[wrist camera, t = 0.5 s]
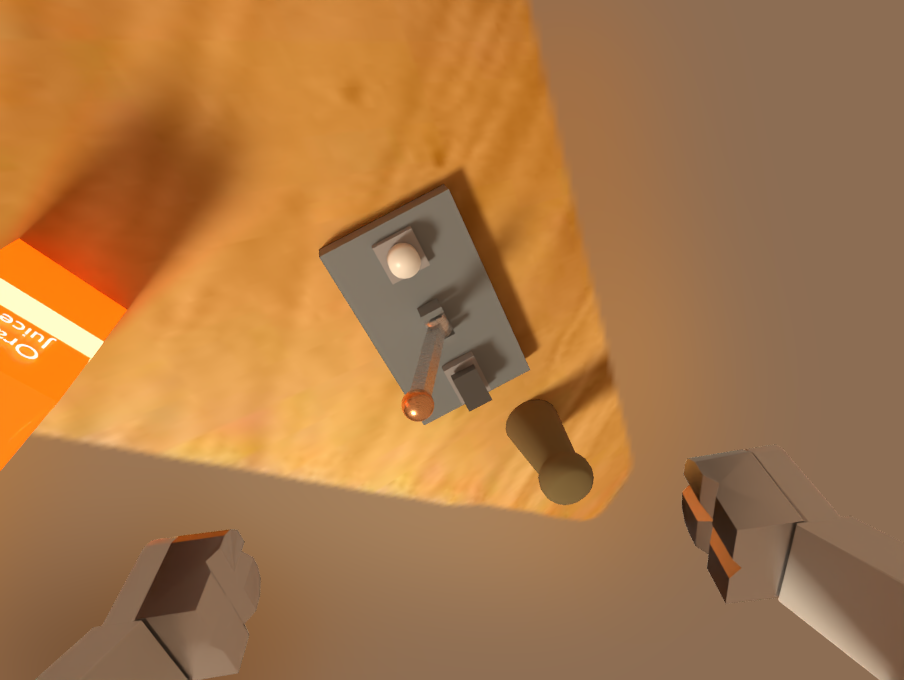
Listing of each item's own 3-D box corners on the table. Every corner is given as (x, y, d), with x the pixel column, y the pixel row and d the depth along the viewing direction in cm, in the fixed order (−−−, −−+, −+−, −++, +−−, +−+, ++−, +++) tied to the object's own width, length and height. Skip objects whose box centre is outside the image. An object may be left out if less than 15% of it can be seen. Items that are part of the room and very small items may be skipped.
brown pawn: (557, 394, 59) (604, 458, 50) (557, 438, 62) (602, 506, 52) (504, 406, 58) (542, 473, 49) (507, 450, 61) (543, 521, 51)
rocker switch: (450, 375, 51) (452, 380, 50) (473, 363, 51) (475, 368, 50) (467, 406, 52) (469, 411, 51) (489, 394, 52) (492, 399, 51)
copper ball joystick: (422, 312, 49) (392, 408, 39) (446, 304, 48) (422, 400, 38) (433, 332, 50) (407, 431, 40) (457, 325, 49) (436, 424, 39)
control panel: (318, 249, 46) (319, 264, 43) (443, 184, 46) (454, 194, 43) (420, 414, 56) (427, 437, 53) (523, 360, 56) (537, 379, 53)
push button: (381, 252, 44) (383, 257, 43) (409, 237, 44) (412, 242, 43) (395, 278, 46) (397, 284, 44) (423, 263, 46) (426, 269, 44)
